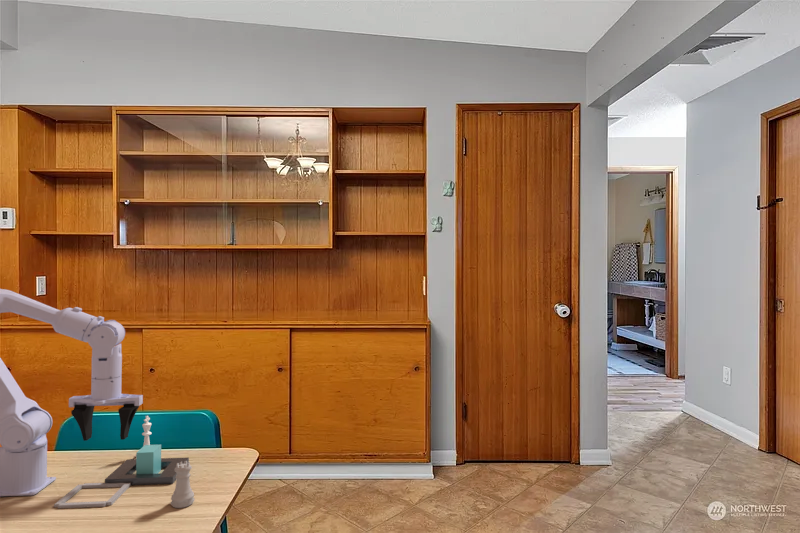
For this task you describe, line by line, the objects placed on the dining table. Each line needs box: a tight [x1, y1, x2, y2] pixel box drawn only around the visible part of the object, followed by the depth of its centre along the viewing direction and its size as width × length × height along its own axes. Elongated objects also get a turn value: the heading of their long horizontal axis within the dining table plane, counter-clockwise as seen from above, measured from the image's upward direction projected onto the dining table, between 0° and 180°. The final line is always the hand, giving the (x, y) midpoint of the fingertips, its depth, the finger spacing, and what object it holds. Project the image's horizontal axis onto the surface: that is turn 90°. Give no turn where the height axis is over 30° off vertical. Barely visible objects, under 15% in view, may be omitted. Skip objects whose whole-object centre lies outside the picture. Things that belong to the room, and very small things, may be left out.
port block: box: [104, 457, 190, 486], centre depth 112 cm, size 14×11×2 cm
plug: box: [135, 444, 162, 474], centre depth 112 cm, size 4×5×6 cm
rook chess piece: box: [170, 461, 195, 509], centre depth 99 cm, size 4×4×8 cm
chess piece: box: [141, 415, 152, 447], centre depth 123 cm, size 5×5×10 cm
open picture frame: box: [53, 482, 132, 509], centre depth 101 cm, size 11×10×1 cm
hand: (105, 438), depth 108 cm, fingers open, 7 cm apart
